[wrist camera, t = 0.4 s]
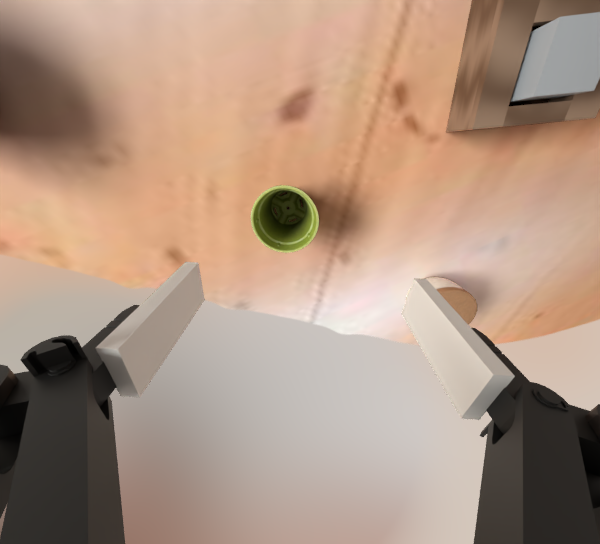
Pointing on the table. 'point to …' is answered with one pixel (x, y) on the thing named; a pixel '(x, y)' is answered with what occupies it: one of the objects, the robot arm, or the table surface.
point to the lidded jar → (455, 297)
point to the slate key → (560, 59)
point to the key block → (510, 66)
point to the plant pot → (284, 219)
